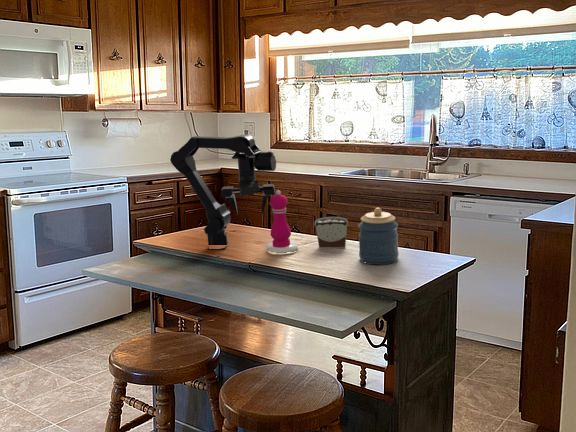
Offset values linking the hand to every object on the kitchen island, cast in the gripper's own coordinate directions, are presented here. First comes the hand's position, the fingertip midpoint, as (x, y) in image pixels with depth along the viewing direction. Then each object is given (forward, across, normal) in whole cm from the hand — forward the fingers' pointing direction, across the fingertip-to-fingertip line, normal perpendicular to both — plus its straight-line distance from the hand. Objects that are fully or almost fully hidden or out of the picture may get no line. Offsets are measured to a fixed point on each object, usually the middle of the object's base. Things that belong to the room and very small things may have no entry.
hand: (249, 214), depth 230 cm
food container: (+13, +29, -1) cm, 32 cm away
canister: (+13, +43, -20) cm, 49 cm away
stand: (+13, +11, -4) cm, 17 cm away
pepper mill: (+11, +11, -4) cm, 16 cm away
